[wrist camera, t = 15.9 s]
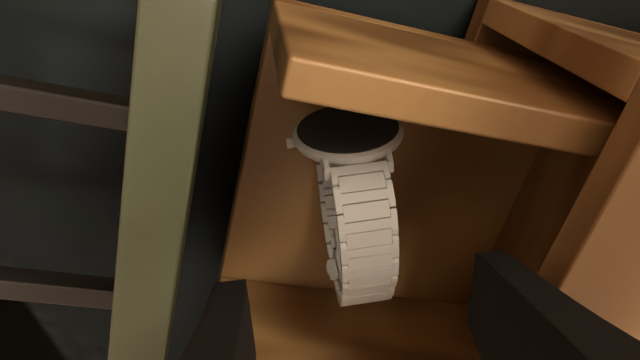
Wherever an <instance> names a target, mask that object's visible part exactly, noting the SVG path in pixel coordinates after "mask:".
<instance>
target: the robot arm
mask: <svg viewBox="0 0 640 360" xmlns="http://www.w3.org/2000/svg"><path fill="white" fill-rule="evenodd" d="M467 323H468V326H469V328H470V331H471V334H472V337H473V339H474V342H475V345H476V347H477V350H478V352H479V355H480V357H481V360H640V340H638V339H636V338H634V337H633V336H631V335H629V334H628V333H626V332H624V331H623V330H621V329H619V328H618V327H616V326H614V325H613V324H611V323H610V322H608V321H606V320H605V319H603V318H601V317H600V316H598V315H597V314H595V313H594V312H592V311H591V310H589V309H587V308H586V307H584V306H583V305H581V304H580V303H578V302H577V301H575V300H574V299H572V298H571V297H569V296H568V295H567V294H565V293H564V292H562V291H561V290H559V289H558V288H556V287H555V286H553V285H552V284H551V283H549V282H548V281H546V280H545V279H543V278H542V277H541V276H539V275H538V274H536V273H535V272H534V271H532V270H531V269H529V268H528V267H526V266H525V265H524V264H522V263H521V262H519V261H518V260H516V259H515V258H514V257H512V256H511V255H509V254H508V253H506V252H504V251H503V250H496V251H487V252H478V253H475V261H474V269H473V277H472V285H471V294H470V302H469V310H468V318H467ZM180 360H256V347H255V340H254V333H253V326H252V319H251V312H250V305H249V298H248V290H247V283H246V279H241V280H232V281H223V282H217V283H216V284H215V285H214V286H213V288H212V291H211V294H210V297H209V299H208V302H207V304H206V307H205V309H204V312H203V314H202V316H201V318H200V320H199V323H198V325H197V327H196V329H195V331H194V333H193V335H192V337H191V339H190V341H189V343H188V345H187V347H186V349H185V351H184V353H183V355H182V357H181V358H180Z"/></svg>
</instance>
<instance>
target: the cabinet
mask: <svg viewBox="0 0 640 360" xmlns="http://www.w3.org/2000/svg"><path fill="white" fill-rule="evenodd" d="M464 40H468V41H473V42H477V43H481V44H486V45H490V46H494V47H498V48H503V49H507V50H511V51H516V52H520V53H524V54H529V55H533V56H537V57H542V58H546V59H547V60H549V61H551V62H553V63H555V64H557V65H558V66H560V67H562V68H564V69H566V70H567V71H569V72H571V73H573V74H575V75H577V76H578V77H580V78H582V79H584V80H586V81H588V82H589V83H591V84H593V85H595V86H597V87H598V88H600V89H602V90H604V91H606V92H608V93H609V94H611V95H613V96H615V97H617V98H619V99H620V100H622V101H624V102H626V103H627V104H626V106H625V108H624V109H623V111H622V113H621V115H620V117H619V119H618V121H617V123H616V125H615V127H614V128H613V130H612V132H611V134H610V136H609V138H608V140H607V142H606V144H605V146H604V147H603V149H602V151H601V153H600V155H599V157H598V159H597V161H596V163H595V165H594V167H593V168H592V170H591V172H590V174H589V176H588V178H587V180H586V182H585V184H584V186H583V187H582V189H581V191H580V193H579V195H578V197H577V199H576V201H575V203H574V205H573V206H572V208H571V210H570V212H569V214H568V216H567V218H566V220H565V222H564V224H563V225H562V227H561V229H560V231H559V233H558V235H557V237H556V239H555V241H554V243H553V244H552V246H551V248H550V250H549V252H548V254H547V256H546V258H545V260H544V262H543V263H542V265H541V267H540V269H539V271H538V273H537V274H538V275H539V276H541V277H542V278H543V279H545V280H546V281H548V282H549V283H551V284H552V285H553V286H555V287H556V288H558V289H559V290H561V291H562V292H564V293H565V294H567V295H568V296H569V297H571V298H572V299H574V300H575V301H577V302H578V303H580V304H581V305H583V306H584V307H586V308H587V309H589V310H591V311H592V312H594V313H595V314H597V315H598V316H600V317H601V318H603V319H605V320H606V321H608V322H610V323H611V324H613V325H614V326H616V327H618V328H619V329H621V330H623V331H624V332H626V333H628V334H629V335H631V336H633V337H634V338H636V339H638V340H640V33H637V32H633V31H629V30H626V29H622V28H618V27H614V26H610V25H606V24H602V23H598V22H594V21H590V20H586V19H583V18H579V17H575V16H571V15H567V14H563V13H559V12H555V11H551V10H547V9H543V8H540V7H536V6H532V5H528V4H524V3H520V2H516V1H512V0H478V2H477V5H476V8H475V10H474V13H473V16H472V19H471V22H470V24H469V27H468V30H467V33H466V35H465V38H464Z"/></svg>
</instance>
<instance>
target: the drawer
mask: <svg viewBox="0 0 640 360" xmlns="http://www.w3.org/2000/svg"><path fill="white" fill-rule="evenodd" d="M222 1H223V0H138V4H137V16H136V28H135V40H134V52H133V64H132V76H131V88H130V98H128V97H123V96H117V95H112V94H106V93H100V92H95V91H89V90H84V89H78V88H72V87H67V86H61V85H56V84H50V83H44V82H39V81H33V80H28V79H22V78H16V77H11V76H5V75H0V111H5V112H11V113H17V114H23V115H29V116H35V117H41V118H47V119H53V120H59V121H65V122H71V123H77V124H84V125H90V126H96V127H102V128H108V129H114V130H120V131H126V132H127V135H126V147H125V159H124V171H123V183H122V195H121V207H120V219H119V231H118V243H117V255H116V267H115V278H109V277H99V276H90V275H81V274H71V273H62V272H52V271H43V270H33V269H24V268H15V267H5V266H0V299H4V300H15V301H25V302H36V303H46V304H57V305H68V306H78V307H89V308H100V309H111V310H112V315H111V327H110V339H109V351H108V360H167V354H168V348H169V342H170V336H171V330H172V325H173V319H174V313H175V307H176V301H177V295H178V289H179V283H180V276H181V270H182V263H183V257H184V250H185V244H186V237H187V231H188V224H189V217H190V211H191V204H192V198H193V191H194V185H195V178H196V172H197V165H198V158H199V152H200V145H201V139H202V132H203V126H204V119H205V113H206V106H207V99H208V93H209V86H210V80H211V73H212V67H213V60H214V54H215V47H216V41H217V34H218V27H219V21H220V14H221V8H222ZM626 104H627V103H626V102H624V101H622V100H620V99H619V98H617V97H615V96H613V95H611V94H609V93H608V92H606V91H604V90H602V89H600V88H598V87H597V86H595V85H593V84H591V83H589V82H588V81H586V80H584V79H582V78H580V77H578V76H577V75H575V74H573V73H571V72H569V71H567V70H566V69H564V68H562V67H560V66H558V65H557V64H555V63H553V62H551V61H549V60H547V59H546V58H542V57H537V56H533V55H529V54H524V53H520V52H516V51H511V50H507V49H503V48H498V47H494V46H490V45H486V44H481V43H477V42H473V41H468V40H464V39H460V38H455V37H451V36H447V35H443V34H438V33H434V32H430V31H425V30H421V29H417V28H412V27H408V26H404V25H399V24H395V23H391V22H387V21H382V20H378V19H374V18H369V17H365V16H361V15H356V14H352V13H348V12H343V11H339V10H335V9H331V8H326V7H322V6H318V5H313V4H309V3H305V2H300V1H296V0H272V1H271V6H270V11H269V16H268V22H267V27H266V32H265V37H264V42H263V48H262V53H261V58H260V63H259V68H258V74H257V79H256V84H255V89H254V94H253V99H252V105H251V110H250V115H249V120H248V125H247V131H246V136H245V141H244V146H243V151H242V157H241V162H240V167H239V172H238V177H237V183H236V188H235V193H234V198H233V203H232V209H231V214H230V219H229V224H228V229H227V235H226V240H225V245H224V250H223V255H222V261H221V266H220V271H219V276H218V282H223V281H232V280H241V279H246V283H247V290H248V298H249V305H250V312H251V319H252V326H253V333H254V340H255V347H256V360H481V357H480V355H479V352H478V350H477V347H476V345H475V342H474V339H473V337H472V334H471V331H470V328H469V326H468V323H467V318H468V310H469V302H470V294H471V285H472V277H473V269H474V261H475V253H478V252H487V251H496V250H503V251H504V252H506V253H508V254H509V255H511V256H512V257H514V258H515V259H516V260H518V261H519V262H521V263H522V264H524V265H525V266H526V267H528V268H529V269H531V270H532V271H534V272H535V273H536V274H537V273H538V271H539V269H540V267H541V265H542V263H543V262H544V260H545V258H546V256H547V254H548V252H549V250H550V248H551V246H552V244H553V243H554V241H555V239H556V237H557V235H558V233H559V231H560V229H561V227H562V225H563V224H564V222H565V220H566V218H567V216H568V214H569V212H570V210H571V208H572V206H573V205H574V203H575V201H576V199H577V197H578V195H579V193H580V191H581V189H582V187H583V186H584V184H585V182H586V180H587V178H588V176H589V174H590V172H591V170H592V168H593V167H594V165H595V163H596V161H597V159H598V157H599V155H600V153H601V151H602V149H603V147H604V146H605V144H606V142H607V140H608V138H609V136H610V134H611V132H612V130H613V128H614V127H615V125H616V123H617V121H618V119H619V117H620V115H621V113H622V111H623V109H624V108H625V106H626ZM327 107H331V108H336V109H341V110H347V111H352V112H357V113H362V114H368V115H373V116H378V117H383V118H389V119H394V120H399V121H401V123H402V125H403V128H404V135H403V139H402V141H401V143H400V145H399V146H398V147H397V148H396V150H394V151H393V152H392V156H393V161H394V172H390V176H391V177H390V180H392V183H393V189H394V195H395V200H396V206H395V207H390V208H396V209H397V217H398V229H399V232H398V236H399V274H398V276H397V277H398V281H397V284H396V287H395V291H394V295H393V296H392V299H389V300H383V301H376V302H369V303H363V304H356V305H349V306H343V307H341V306H340V304H339V302H338V299H337V293H336V291H335V285H334V281H333V280H331V279H330V277H329V276H328V274H327V269H326V264H327V260H329V258H328V253H327V247H326V241H325V235H324V228H323V224H328V222H326V223H323V221H322V213H321V205H320V203H325V202H320V197H319V189H318V182H322V181H318V180H317V171H316V161H314V160H312V159H309V158H308V157H306V156H304V155H303V154H302V153H301V152H300V151H299V150H298V149H297V148H296V147H293V148H289V149H287V142H286V138H293V131H294V128H295V126H296V125H297V124H298V123H299V122H300V121H301V120H302V119H303V118H305V117H306V116H307V115H309V114H311V113H313V112H315V111H318V110H320V109H323V108H327ZM378 161H384V158H381V159H378V160H375V161H372V162H378ZM369 163H370V162H369ZM326 196H329V195H326ZM327 209H329V208H327ZM340 215H343V214H340ZM333 216H338V215H333ZM327 217H331V216H327ZM333 229H338V228H333ZM329 230H330V229H329ZM329 244H330V243H329Z"/></svg>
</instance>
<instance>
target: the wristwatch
mask: <svg viewBox="0 0 640 360" xmlns="http://www.w3.org/2000/svg"><path fill="white" fill-rule="evenodd" d="M403 135H404V128H403V125H402V123H401V121H399V120H394V119H389V118H383V117H378V116H373V115H368V114H362V113H357V112H352V111H347V110H341V109H336V108H331V107H327V108H323V109H320V110H318V111H315V112H313V113H311V114H309V115H307V116H306V117H305V118H303V119H302V120H301V121H300V122H299V123H298V124H297V125H296V126H295V128H294V131H293V138H286V142H287V149H289V148H293V147H296V148H297V149H298V150H299V151H300V152H301V153H302V154H303V155H304V156H306V157H308V158H309V159H312V160H314V161H316V171H317V180H318V181H322V182H318V189H319V197H320V202H325V203H320V205H321V213H322V221H323V223H326V222H328V224H323V228H324V235H325V241H326V247H327V253H328V258H329V260H327V264H326V269H327V274H328V276H329V277H330V279H331V280H333V281H334V285H335V291H336V293H337V299H338V302H339V304H340V306H341V307H343V306H349V305H356V304H363V303H369V302H376V301H383V300H389V299H392V296H393V295H394V291H395V287H396V284H397V281H398V277H397V276H398V274H399V236H398V232H399V229H398V217H397V209H396V208H390V207H395V206H396V200H395V195H394V189H393V183H392V180H390V177H391V176H390V172H394V161H393V156H392V152H393V151H394V150H396V148H397V147H398V146H399V145H400V143H401V141H402V139H403ZM381 158H384V161H378V162H372V161H375V160H378V159H381ZM369 162H370V163H369ZM326 195H329V196H326ZM327 208H329V209H327ZM340 214H343V215H340ZM333 215H338V216H333ZM327 216H331V217H327ZM333 228H338V229H333ZM329 229H330V230H329ZM329 243H330V244H329Z"/></svg>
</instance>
